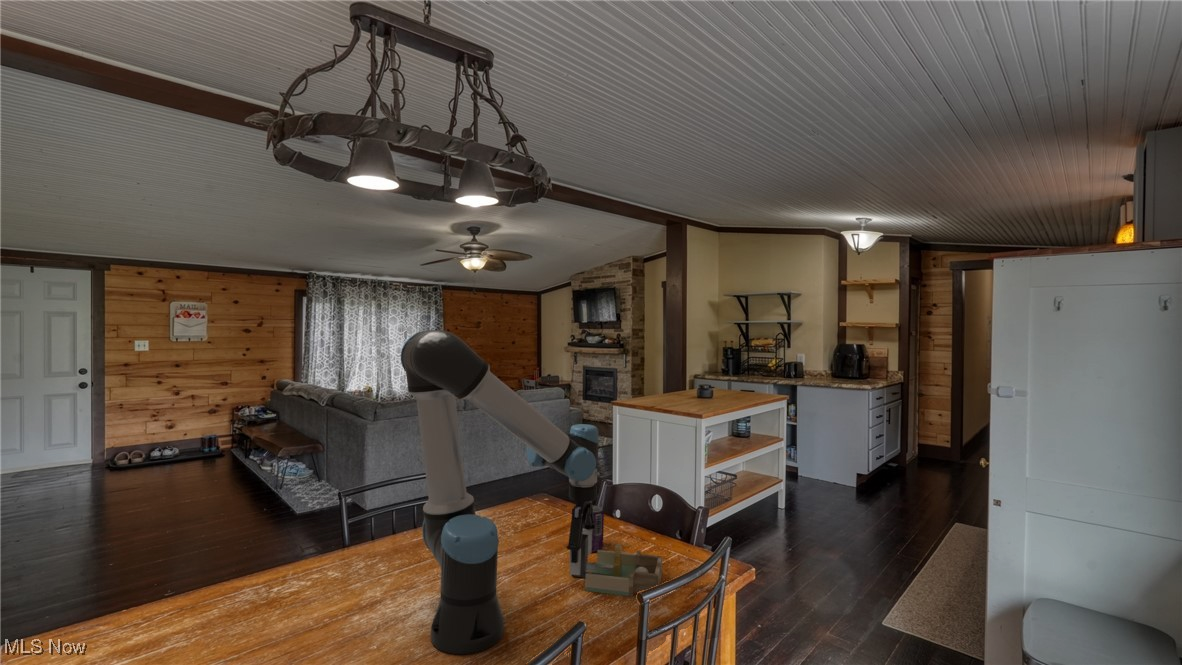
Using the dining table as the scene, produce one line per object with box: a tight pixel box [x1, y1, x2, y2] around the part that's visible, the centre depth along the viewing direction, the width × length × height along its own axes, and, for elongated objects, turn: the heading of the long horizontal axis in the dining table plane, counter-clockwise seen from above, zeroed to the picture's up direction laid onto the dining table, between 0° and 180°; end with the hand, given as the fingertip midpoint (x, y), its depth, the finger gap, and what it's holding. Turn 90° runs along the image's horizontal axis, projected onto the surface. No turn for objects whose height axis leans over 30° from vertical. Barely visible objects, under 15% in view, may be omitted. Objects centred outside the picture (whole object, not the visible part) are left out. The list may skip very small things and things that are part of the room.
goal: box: [628, 550, 663, 598], centre depth 138 cm, size 16×7×5 cm, turn 168°
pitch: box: [584, 549, 636, 597], centre depth 140 cm, size 16×11×4 cm
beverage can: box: [583, 504, 605, 553], centre depth 160 cm, size 7×7×12 cm
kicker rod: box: [571, 534, 623, 579], centre depth 141 cm, size 6×13×10 cm, turn 78°
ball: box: [635, 567, 649, 573], centre depth 138 cm, size 4×4×4 cm
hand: (580, 563), depth 142 cm, fingers open, 13 cm apart
